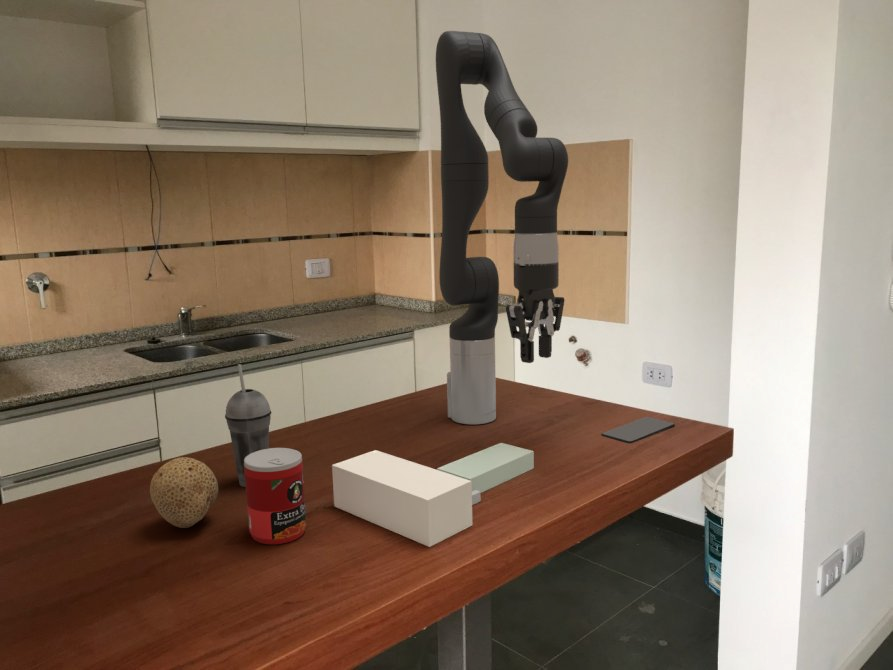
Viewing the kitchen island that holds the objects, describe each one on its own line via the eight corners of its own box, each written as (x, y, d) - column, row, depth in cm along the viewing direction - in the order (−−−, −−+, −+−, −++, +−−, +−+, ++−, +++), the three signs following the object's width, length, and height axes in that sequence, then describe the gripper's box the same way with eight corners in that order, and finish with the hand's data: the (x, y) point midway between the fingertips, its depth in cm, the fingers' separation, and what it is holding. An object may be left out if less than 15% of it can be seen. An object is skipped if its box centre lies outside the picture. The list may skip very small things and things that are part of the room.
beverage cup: (285, 477, 121) (277, 359, 117) (256, 493, 114) (247, 369, 111) (250, 471, 124) (241, 356, 120) (220, 486, 117) (210, 366, 114)
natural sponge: (184, 508, 109) (178, 445, 108) (234, 515, 106) (228, 450, 105) (140, 534, 101) (133, 466, 99) (193, 543, 98) (186, 472, 96)
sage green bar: (437, 486, 115) (437, 468, 115) (501, 459, 127) (501, 442, 126) (470, 497, 111) (470, 479, 110) (533, 468, 122) (533, 451, 122)
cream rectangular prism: (334, 506, 109) (331, 465, 108) (409, 476, 120) (407, 438, 119) (429, 547, 95) (428, 500, 94) (504, 509, 106) (503, 466, 105)
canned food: (279, 550, 95) (273, 471, 93) (236, 537, 100) (230, 460, 98) (318, 528, 102) (314, 453, 100) (277, 516, 106) (272, 444, 104)
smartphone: (599, 433, 138) (646, 416, 148) (599, 438, 138) (646, 420, 148) (630, 441, 133) (676, 423, 142) (630, 446, 133) (676, 427, 143)
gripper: (542, 256, 130) (542, 350, 133) (491, 262, 120) (492, 364, 123) (578, 257, 125) (577, 355, 128) (528, 264, 115) (528, 370, 118)
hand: (536, 359), depth 125 cm, fingers open, 4 cm apart
